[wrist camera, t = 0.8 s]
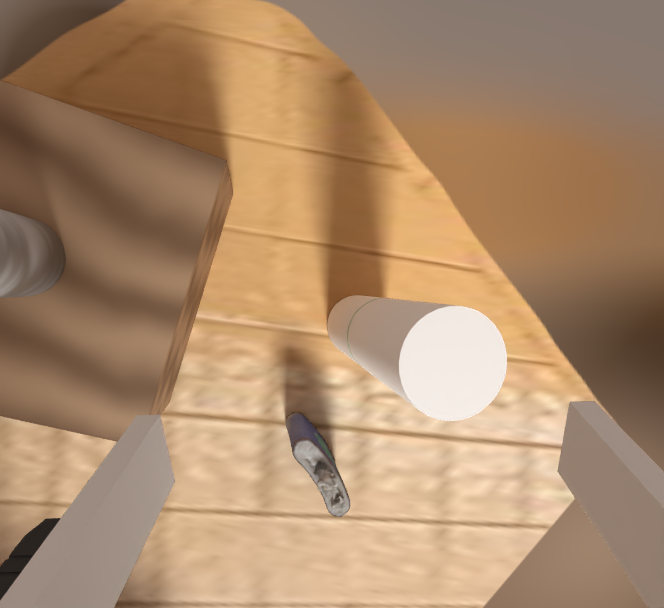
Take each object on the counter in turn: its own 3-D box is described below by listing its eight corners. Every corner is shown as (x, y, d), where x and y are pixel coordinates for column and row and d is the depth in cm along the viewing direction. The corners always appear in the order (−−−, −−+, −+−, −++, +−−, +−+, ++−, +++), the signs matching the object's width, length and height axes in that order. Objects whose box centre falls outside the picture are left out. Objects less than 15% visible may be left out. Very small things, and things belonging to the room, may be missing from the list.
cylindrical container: (377, 360, 52) (491, 430, 27) (320, 347, 50) (386, 408, 26) (392, 303, 52) (518, 320, 27) (335, 288, 50) (415, 293, 26)
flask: (281, 419, 50) (289, 455, 39) (302, 405, 50) (316, 437, 40) (321, 482, 51) (340, 534, 41) (342, 468, 52) (365, 515, 41)
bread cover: (169, 402, 47) (94, 510, 25) (-76, 343, 43) (-440, 410, 20) (233, 193, 48) (216, 112, 25) (-4, 112, 43) (-286, -76, 21)
